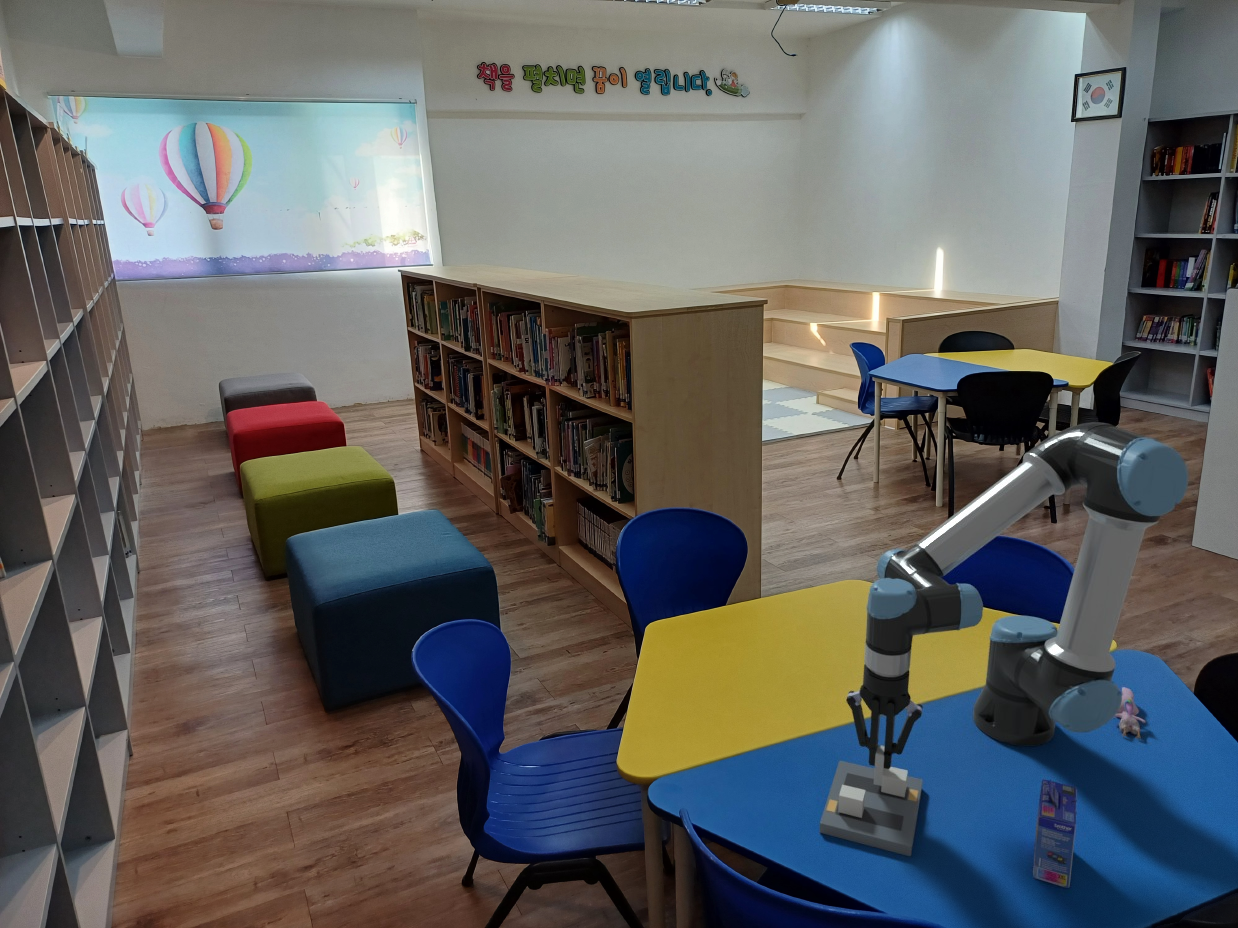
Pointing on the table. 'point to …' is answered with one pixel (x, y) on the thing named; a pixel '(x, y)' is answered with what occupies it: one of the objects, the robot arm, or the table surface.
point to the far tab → (894, 781)
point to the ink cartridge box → (1055, 833)
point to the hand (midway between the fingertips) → (878, 780)
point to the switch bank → (873, 811)
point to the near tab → (851, 801)
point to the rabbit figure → (1128, 714)
